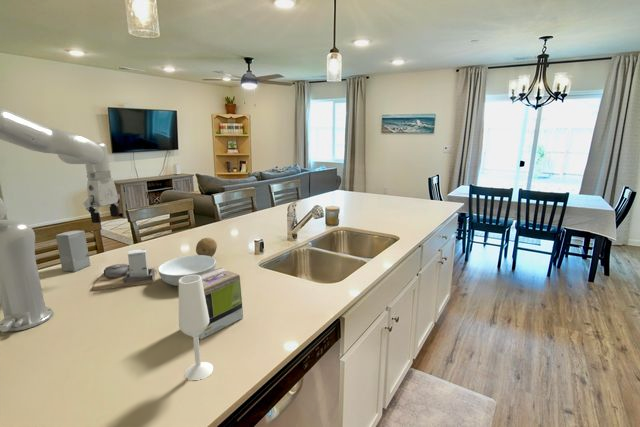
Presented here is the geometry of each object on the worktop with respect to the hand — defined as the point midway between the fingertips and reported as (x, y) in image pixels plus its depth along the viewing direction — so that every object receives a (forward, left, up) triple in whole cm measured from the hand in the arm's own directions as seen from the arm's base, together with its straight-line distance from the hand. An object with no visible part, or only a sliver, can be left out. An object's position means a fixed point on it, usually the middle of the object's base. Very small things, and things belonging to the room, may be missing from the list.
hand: (106, 219), depth 131 cm
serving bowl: (-16, -29, -24) cm, 41 cm away
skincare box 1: (+13, +17, -23) cm, 32 cm away
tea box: (-51, -37, -24) cm, 67 cm away
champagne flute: (-72, -33, -23) cm, 82 cm away
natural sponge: (+6, -36, -23) cm, 43 cm away
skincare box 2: (-10, -11, -23) cm, 28 cm away
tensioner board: (-7, -6, -23) cm, 25 cm away
